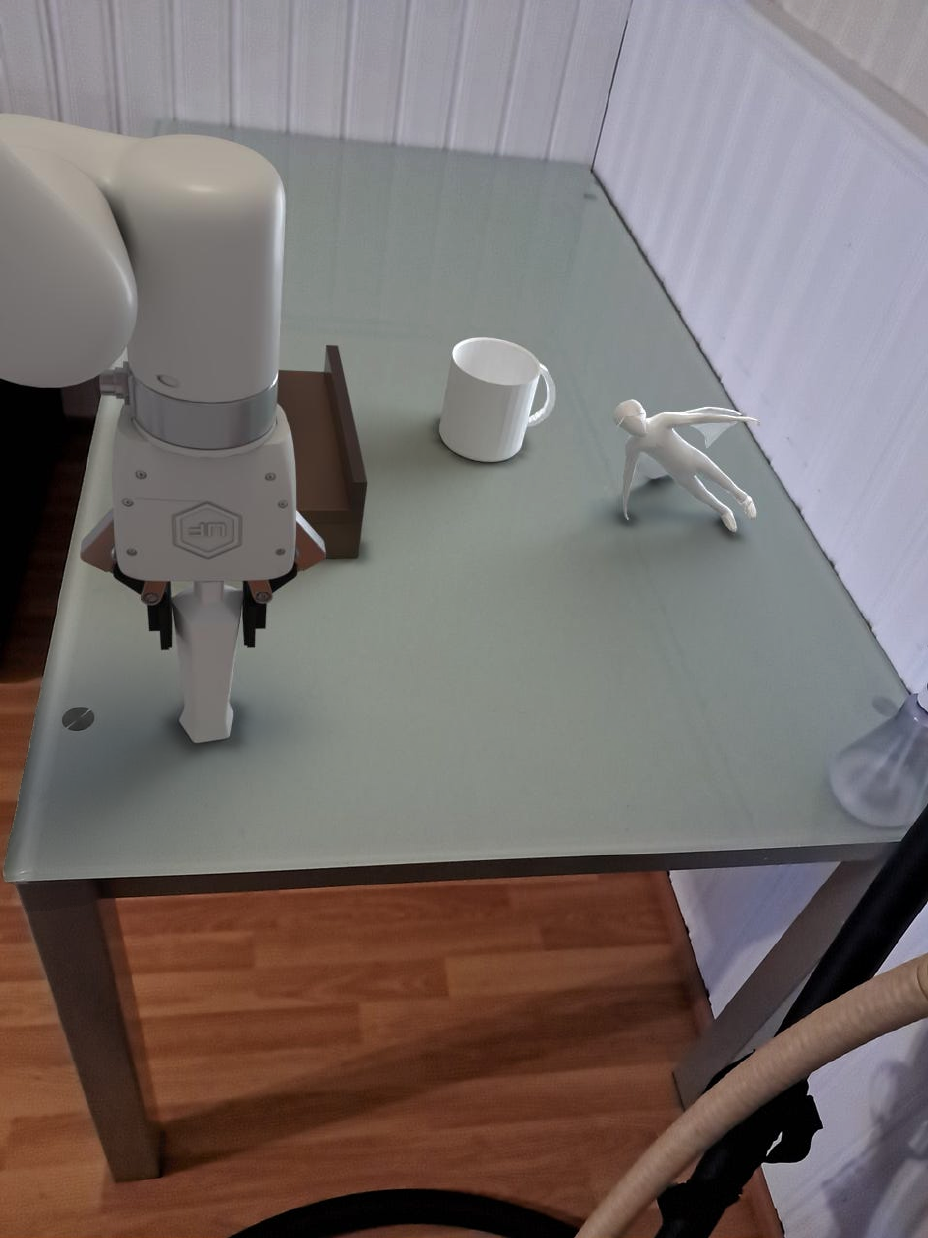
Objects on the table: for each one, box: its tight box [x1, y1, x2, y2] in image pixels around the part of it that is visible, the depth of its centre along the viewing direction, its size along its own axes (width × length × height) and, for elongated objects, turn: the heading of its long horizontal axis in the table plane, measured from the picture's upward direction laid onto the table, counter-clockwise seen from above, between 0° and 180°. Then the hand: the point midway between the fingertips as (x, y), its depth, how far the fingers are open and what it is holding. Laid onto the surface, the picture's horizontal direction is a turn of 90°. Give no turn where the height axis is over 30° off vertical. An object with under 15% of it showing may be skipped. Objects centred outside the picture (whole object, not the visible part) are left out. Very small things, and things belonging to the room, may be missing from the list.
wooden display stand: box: [277, 344, 368, 559], centre depth 88 cm, size 16×22×8 cm
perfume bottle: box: [171, 581, 243, 744], centre depth 65 cm, size 5×4×15 cm
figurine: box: [608, 399, 761, 533], centre depth 94 cm, size 16×11×20 cm
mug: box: [438, 336, 556, 463], centre depth 100 cm, size 12×9×9 cm
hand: (208, 631), depth 63 cm, fingers closed on perfume bottle, 4 cm apart
